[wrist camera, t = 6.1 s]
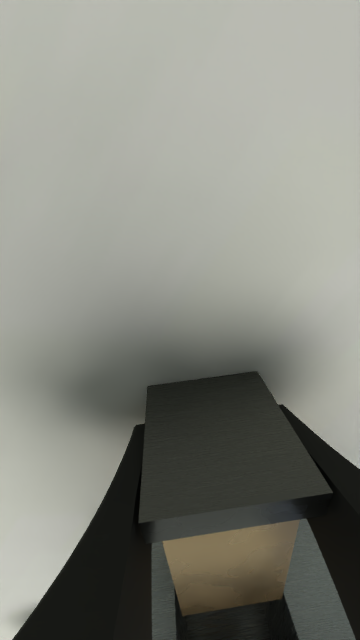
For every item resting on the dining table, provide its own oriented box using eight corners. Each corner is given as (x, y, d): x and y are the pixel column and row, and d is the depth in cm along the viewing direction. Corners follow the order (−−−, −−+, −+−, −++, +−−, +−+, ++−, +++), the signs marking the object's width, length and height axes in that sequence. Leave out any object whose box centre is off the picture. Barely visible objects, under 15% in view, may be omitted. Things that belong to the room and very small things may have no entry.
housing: (306, 493, 17) (397, 662, 10) (292, 556, 21) (350, 705, 15) (115, 522, 16) (87, 719, 10) (140, 581, 20) (131, 746, 14)
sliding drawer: (257, 371, 12) (332, 492, 7) (251, 489, 16) (294, 617, 11) (147, 386, 11) (138, 523, 6) (171, 501, 16) (177, 637, 11)
